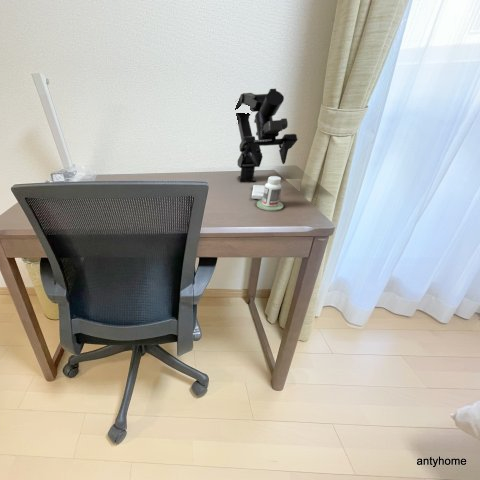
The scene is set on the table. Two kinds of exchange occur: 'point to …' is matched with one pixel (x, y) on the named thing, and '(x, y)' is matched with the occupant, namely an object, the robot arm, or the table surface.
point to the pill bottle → (272, 191)
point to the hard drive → (258, 192)
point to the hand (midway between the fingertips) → (270, 164)
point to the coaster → (270, 207)
